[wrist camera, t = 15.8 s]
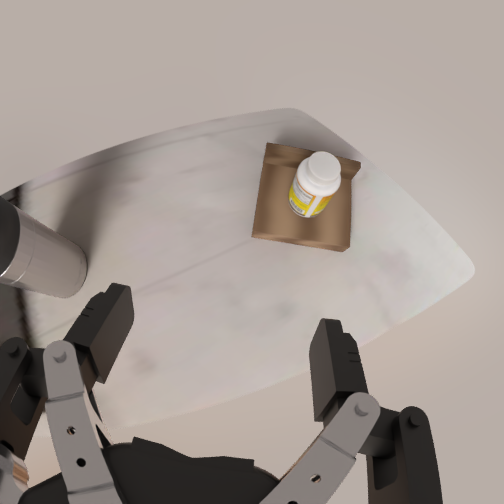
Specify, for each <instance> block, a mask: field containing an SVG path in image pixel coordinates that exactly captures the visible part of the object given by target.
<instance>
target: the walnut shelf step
mask: <svg viewBox="0 0 504 504" xmlns="http://www.w3.org/2000/svg"><path fill="white" fill-rule="evenodd" d="M313 153H315V151H310V150H306V149H300V148H295V147H290V146H284V145H279V144H273V143H267V145H266V150H265V156H264V161H263V167H262V173H261V180H260V186H259V193H258V199H257V205H256V212H255V218H254V225H253V231H252V237H254V238H260V239H266V240H273V241H279V242H285V243H291V244H297V245H303V246H309V247H315V248H321V249H327V250H333V251H339V252H343V251H345V250H346V249H348V248H349V247H350V230H351V180H352V179H353V177H354V176H355V175H356V173H357V172H358V171H359V169H360V168H361V163H360V162H358V161H354V160H350V159H346V158H342V157H338V156H335V157H336V158H337V160H338V161H339V163H340V166H341V172H340V175H341V183H340V186H339V188H338V190H337V191H336V192H335V194H334V195H333V197H332V198H331V199H330V201H329V202H328V204H327V205H326V207H325V208H324V209H323V211H322V212H321V213H320V214H318V215H317V216H314V217H302V216H300V215H298V214H296V213H295V212H294V211H293V210H292V209H291V207H290V205H289V202H288V194H289V191H290V188H291V185H292V183H293V180H294V177H295V175H296V172H297V169H298V167H299V165H300V163H301V162H302V161H303V160H304V159H306V158H308V157H310V156H311V155H312V154H313Z"/></svg>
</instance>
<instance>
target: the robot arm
mask: <svg viewBox="0 0 504 504" xmlns="http://www.w3.org/2000/svg"><path fill="white" fill-rule="evenodd" d="M86 272H87V262H86V257H85V255H84V252H83V251H82V249H81V248H80V247H79V246H78V245H76V244H75V243H73V242H71V241H69V240H68V239H66V238H65V237H63V236H61V235H60V234H58V233H56V232H55V231H53V230H51V229H50V228H48V227H47V226H45V225H43V224H42V223H40V222H39V221H37V220H36V219H34V218H32V217H31V216H29V215H28V214H26V213H25V212H23V211H21V210H20V209H18V208H17V207H15V206H14V205H12V204H11V203H10V202H8V201H7V200H5V199H4V198H2V197H1V196H0V283H3V284H7V285H10V286H14V287H18V288H22V289H26V290H30V291H34V292H38V293H42V294H46V295H50V296H54V297H59V298H67V297H70V296H72V295H74V294H75V293H76V292H78V290H79V289H80V288H81V286H82V285H83V283H84V280H85V277H86ZM133 321H134V308H133V302H132V295H131V289H130V287H129V286H126V285H122V284H117V283H112V284H111V285H110V286H109V288H108V289H107V291H106V292H105V293H103V292H100V293H98V294H97V295H95V296H94V297H92V298H91V299H90V301H89V302H88V304H87V305H86V306H85V308H84V309H83V311H82V312H81V315H79V317H78V318H77V319H76V321H75V322H74V324H73V325H72V327H71V328H70V330H69V331H68V333H67V335H66V336H65V338H64V339H63V340H59V341H55V342H52V343H51V344H49V345H48V346H47V347H46V349H42V348H29V347H28V346H27V344H26V342H25V341H24V340H23V339H22V338H19V337H14V338H10V339H8V340H7V341H6V342H5V343H4V344H3V345H2V346H1V348H0V504H326V503H327V501H328V500H329V499H330V498H331V496H332V495H333V494H334V492H335V491H336V490H337V488H338V487H339V485H340V484H341V483H342V481H343V480H344V478H345V477H346V476H347V474H348V473H349V471H350V470H351V468H352V467H353V465H354V464H355V461H356V458H355V456H356V454H357V453H361V454H365V455H366V460H367V476H368V502H369V504H443V501H442V492H441V485H440V478H439V471H438V465H437V459H436V454H435V448H434V443H433V439H432V434H431V430H430V425H429V421H428V418H427V416H426V414H425V413H424V412H423V411H422V410H421V409H420V408H417V407H414V406H409V407H406V408H404V409H403V410H402V411H401V412H397V411H393V410H389V409H385V408H383V407H380V406H379V403H378V402H377V400H376V399H375V398H374V397H373V396H371V395H369V393H368V389H367V385H366V380H365V376H364V371H363V367H362V364H361V359H360V355H359V352H358V347H357V343H356V341H355V340H354V339H353V337H352V336H351V335H350V333H343V329H342V325H341V322H340V320H334V319H325V318H322V319H321V320H320V322H319V325H318V327H317V330H316V332H315V335H314V337H313V339H312V342H311V345H310V350H309V359H310V370H311V380H312V392H313V393H312V394H313V406H314V421H318V422H323V425H324V429H323V430H322V431H321V432H320V434H319V435H318V436H317V437H316V439H315V440H314V441H313V442H312V444H311V445H310V446H309V447H308V448H307V450H306V451H305V452H304V453H303V454H302V455H301V457H300V458H299V459H298V460H297V461H296V462H295V463H294V464H293V466H291V468H290V469H289V470H288V471H287V472H286V473H285V474H284V475H283V476H282V477H281V478H280V479H277V478H276V477H275V476H274V475H272V474H271V473H269V472H267V471H266V470H263V469H261V468H259V467H256V466H254V460H253V459H243V458H242V459H241V458H233V457H225V456H220V457H204V458H191V457H188V456H186V455H183V454H181V453H179V452H176V451H175V450H173V449H171V448H169V447H166V446H164V445H162V444H159V443H155V442H151V441H148V440H144V439H140V438H137V437H134V438H133V441H132V443H118V444H114V443H113V441H112V439H111V436H110V434H109V433H108V430H107V428H106V426H105V423H104V420H103V418H102V415H101V412H100V409H99V406H98V402H97V399H96V396H95V393H94V390H93V386H94V384H95V382H96V381H97V382H100V383H103V384H105V381H106V379H107V377H108V375H109V373H110V371H111V368H112V366H113V364H114V362H115V360H116V358H117V356H118V354H119V351H120V349H121V347H122V345H123V343H124V341H125V339H126V337H127V335H128V333H129V331H130V329H131V327H132V325H133ZM18 386H19V387H18ZM17 388H18V389H17ZM16 390H17V391H16ZM15 392H16V394H15ZM14 394H15V396H14ZM13 396H14V398H13ZM12 398H13V400H12ZM48 398H49V400H48ZM11 400H12V402H11ZM44 407H45V409H46V414H47V419H48V424H49V428H50V433H51V437H52V441H53V445H54V448H55V452H56V456H57V459H58V462H59V466H60V469H61V473H59V474H57V475H55V476H53V477H51V478H49V479H47V480H45V481H43V482H41V483H39V484H37V485H35V486H33V487H31V488H28V485H27V482H28V481H29V475H28V471H27V467H26V465H25V463H24V460H25V456H26V454H27V451H28V448H29V445H30V442H31V440H32V437H33V434H34V432H35V429H36V426H37V424H38V421H39V419H40V416H41V414H42V411H43V409H44Z"/></svg>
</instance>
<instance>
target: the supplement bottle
mask: <svg viewBox="0 0 504 504" xmlns="http://www.w3.org/2000/svg"><path fill="white" fill-rule="evenodd" d="M340 172H341V166H340V163H339V161H338V160H337V158H336V157H335V156H333V155H332V154H330V153H328V152H324V151H319V152H315V153H313V154H312V155H311V156H310V157H308V158H306V159H304V160H303V161H302V162H301V163H300V165H299V167H298V169H297V172H296V175H295V177H294V180H293V183H292V185H291V188H290V191H289V194H288V202H289V205H290V207H291V209H292V210H293V211H294V212H295V213H296V214H298V215H300V216H302V217H314V216H317V215H318V214H320V213H321V212H322V211H323V209H324V208H325V207H326V205H327V204H328V202H329V201H330V199H331V198H332V197H333V195H334V194H335V192H336V191H337V190H338V188H339V186H340V183H341V175H340Z"/></svg>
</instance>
